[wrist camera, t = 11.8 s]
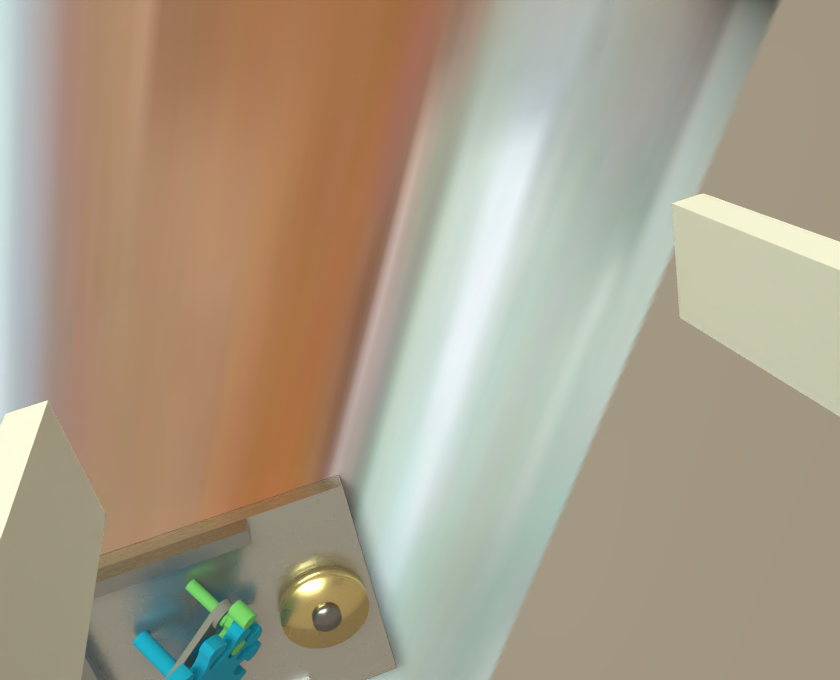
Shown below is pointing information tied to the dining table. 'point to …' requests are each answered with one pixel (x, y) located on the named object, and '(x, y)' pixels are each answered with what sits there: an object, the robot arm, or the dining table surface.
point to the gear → (209, 642)
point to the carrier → (247, 591)
